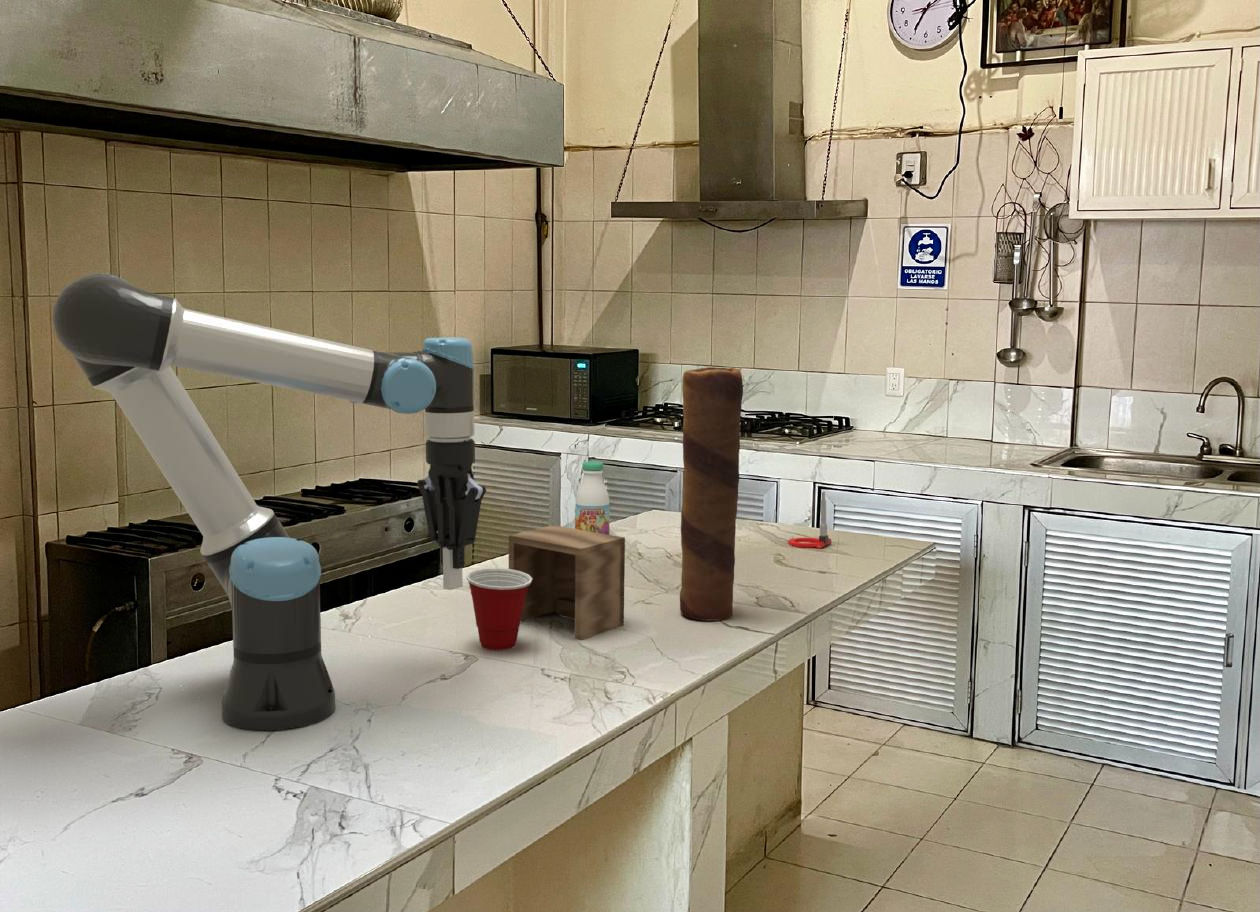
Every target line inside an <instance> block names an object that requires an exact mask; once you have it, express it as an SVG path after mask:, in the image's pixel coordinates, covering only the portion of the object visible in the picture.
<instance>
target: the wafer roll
mask: <svg viewBox="0 0 1260 912" xmlns="http://www.w3.org/2000/svg"><path fill="white" fill-rule="evenodd" d="M682 375H683V376H682V380H681V381H682V383H681V385H682V386H681V391H682V413H683V422H682V453H683V454H682V460H683V474H682V493H681V494H682V497H681V499H682V502H681V512H680V518H681V519H680V537H681V538H680V542H681V544H680V545H681V552H682V553H681V555H682V557H681V576H680V577H681V578H680V579H681V587H680V592H679V611H680V613H681V614H682V616H684V617H687V618H688V619H689V618H690V619H694V620H699V621H722V620H728V619H730V618H732V616H733V615H734V613H733V612H734V611H733V610H734V609H733V608H734V607H733V601H734V582H735V564H736V556H735V550H736V549H735V546H736V533H737V532H736V531H737V529H736V520H737V514H738V501H739V484H740V450H741V440H740V431H741V415H742V401H743V396H744V385H743V383H744V382H743V376H742V372H741V370H740V369H739V368H736V367H729V368H726V367H710V366H708V367H702V368H695V369H688V370H685V371H684V372H683V374H682Z"/></svg>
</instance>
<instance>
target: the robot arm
mask: <svg viewBox="0 0 1260 912" xmlns="http://www.w3.org/2000/svg"><path fill="white" fill-rule="evenodd" d="M51 317H52V325H53V326H52V327H53V331H54V333H55V336H56V338H57V339H58V341H59V343H60V344H61V346H62V347H63V348H64V349H66V351H68V353H69V354H71V355H72V356H73V359H74V360H75V361H76V363H77V365H78V366H79V367H80V369H81V371H82V372H83V373H84V376H85V377H86V378H87V380H88V381H89V382H90V384H91V386H92V387H93V388H94V389H96V390H100V391H104V392H106V393H109V394H110V395H112V397H113V399H114V400H115V402H116V403H117V405H118V406H119V408H120V410H121V411H122V412H123V414H124V417H126V419H127V420H128V421H129V423H130V425H131V426H132V428H133V430H134V431H135V433H136V434H137V436H138V438H139V439H140V440H141V442H142V443H143V445H144V447H145V448H146V450H147V452H148V453H149V454H150V456H151V457H152V459H153V460H154V462H155V463H156V466H157V467H158V468H159V470H160V471H161V473H162V474H163V476H164V478H165V479H166V481H167V482H168V483H169V485H170V487H171V489H172V490H173V492H174V493H175V495H176V497H177V498H178V500H179V501H180V502H181V504H182V505H183V507H184V509H185V510H186V511H187V514H188V515H189V517H190V518H191V519H192V521H193V523H194V524H195V526H196V527H197V529H198V530H199V532H200V533H201V535H202V536H203V537H202V543H201V547H200V554H201V555H202V557H203V559H204V560H205V561H206V563H207V565H208V566H209V568H210V569H211V571H212V572H213V574H214V576H215V577H216V579H217V580H218V582H219V584H220V585H221V587H222V588H223V590H224V592H225V593H226V594H227V598H228V600H229V603H230V605H231V613H232V615H231V617H232V642H233V643H232V647H233V650H232V651H233V662H232V666H231V669H230V672H229V676H228V679H227V682H226V687H225V690H224V694H223V696H222V699H221V717H222V720H223V722H225V723H227V724H228V725H230V726H232V727H236V728H240V729H245V730H252V731H280V730H288V729H289V730H290V729H295V728H302V727H304V726H309V725H311V724H315V723H317V722H320V721H322V720H324V719H327V718H328V717H329V716H331V715H332V714H333V713H334V712H335V710H336V692H335V687H334V686H333V683H332V680H331V677H330V674H329V672H328V669H327V667H326V664H325V661H324V658H323V654H322V627H321V626H322V622H321V621H322V620H321V619H322V618H321V616H322V615H321V587H320V586H321V580H320V579H321V574H322V567H321V564H320V559H319V558H320V557H319V553H318V551H317V549H316V548H315V547H314V546H313V545H312V544H311V543H308V542H306V541H305V540H297V539H296V538H292V537H290V536H289V535H288V533H287V530H285V528H284V526H283V525H282V522H281V521H280V520H279V519H278V517H277V516H276V514H275V512H274V510H273V509H271V508H267V507H263V506H260V505H258V504H257V503H256V501H255V500H254V498H253V497H252V495H251V494H250V492H249V490H248V488H247V487H246V486H245V484H244V482H243V480H242V479H241V477H240V476H239V474H238V472H237V471H236V469H235V468H234V466H233V465H232V463H231V462H230V459H229V458H228V456H227V455H226V453H225V452H224V450H223V448H222V447H221V446H220V444H219V442H218V441H217V439H216V437H215V436H214V434H213V433H212V431H211V429H210V427H209V426H208V424H207V423H206V421H205V419H204V418H203V416H202V414H201V413H200V412H199V410H198V408H197V407H196V405H195V404H194V402H193V399H191V396H190V395H189V393H188V392H187V391H186V388H184V386H183V384H182V383H181V381H180V379H179V377H178V376H177V374H176V373H175V371H174V370H173V368H172V366H173V367H177V368H183V369H189V370H192V371H199V372H201V373H202V372H203V373H207V374H208V373H209V374H213V375H217V376H218V375H219V376H224V377H228V378H234V379H239V380H244V381H247V382H248V381H250V382H253V383H259V384H264V385H270V386H274V387H278V388H283V389H290V390H293V391H299V392H304V393H310V394H314V395H320V396H325V397H329V398H334V399H339V400H345V401H348V402H349V403H351V404H365V405H366V406H367V405H368V406H372V407H378V408H382V409H387V410H392V411H393V412H394V413H398V414H405V415H410V414H411V415H412V414H413V415H414V414H417V413H419V412H422V411H423V410H424V436H426V438H428V439H427V440H426V441H425V462H426V464H428V465H429V468H428V469H429V470H428V472H427V476H426V477H425V478H423V479H422V478H421V479H418V480H417V483H416V484H417V487H418V490H419V492H420V494H421V496H422V502H423V508H424V513H425V518H426V519H425V520H426V524H427V528H428V529H427V530H428V535H429V539H430V540H431V542H436V543H437V544H438V546H439V547H440V548H439V549H440V564H441V567H442V572H443V573H442V575H443V576H442V577H443V579H442V580H443V581H442V582H443V583H442V585H443V589H444V590H447V591H451V590H455V589H458V588H459V589H460V588H463V585H464V583H463V582H464V579H463V569H464V567H465V563H466V562H465V549H466V547H467V546H470V545H472V544H475V541H476V535H477V529H478V524H479V523H478V522H479V517H480V512H481V511H480V510H481V506H482V505H481V504H482V500H483V498H484V496H485V495H486V492H487V487H486V485H479V484H478V483H477V482H476V481H475V480H474V479H475V476H474V473H473V470H472V466H473V464H474V463H475V461H476V445H475V444H476V441H475V440H474V439H473V438H472V437H473V436H474V435H475V407H474V404H475V403H474V400H475V399H474V398H475V397H474V395H475V394H474V391H475V389H474V388H475V387H474V386H475V384H474V382H475V379H474V378H475V376H474V375H475V372H474V371H475V366H474V351H473V345H472V342H471V341H470V340H469V339H467V338H464V337H450V336H449V337H427V338H425V340H423V343H422V346H423V347H422V348H421V350H417V351H412V352H409V351H408V352H407V351H405V352H400V351H399V352H397V351H395V352H394V351H393V352H392V351H391V352H387V351H386V352H384V351H383V352H381V351H376V350H372V349H369V348H363V347H359V346H355V345H351V344H345V343H341V342H338V341H337V342H336V341H332V340H327V339H324V338H319V337H314V336H310V335H305V334H300V333H297V332H296V333H295V332H291V331H287V330H283V329H278V328H273V327H269V326H264V325H260V324H256V323H251V322H245V321H242V320H238V319H234V318H233V319H232V318H229V317H228V318H227V317H224V316H220V315H216V314H211V313H207V312H203V311H197V310H192V309H188V308H184V307H183V306H182V305H181V304H180V303H179V300H177V298H175V297H169V296H165V295H160V294H158V293H154V292H150V291H147V290H145V289H143V288H139V287H137V286H135V285H133V284H131V283H129V282H128V281H127V280H126V279H123V278H120V277H119V276H116V275H112V274H107V273H92V274H87V275H85V276H82V277H79V278H76V279H75V280H74V281H72V282H71V283H69V284H67V285H66V287H65V288H64V289H63V290H62V291H61V292H59V295H58V297H57V298H56V300H55V303H54V305H53V309H52V316H51Z"/></svg>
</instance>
